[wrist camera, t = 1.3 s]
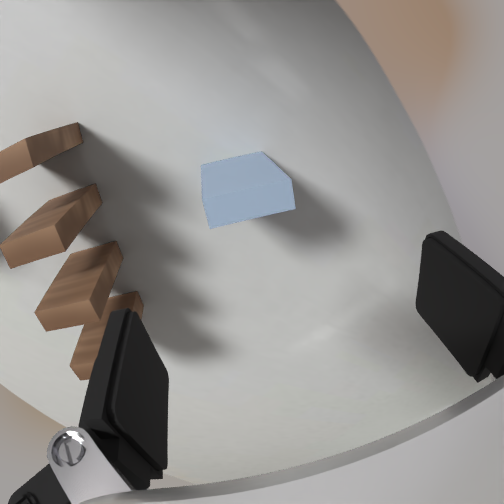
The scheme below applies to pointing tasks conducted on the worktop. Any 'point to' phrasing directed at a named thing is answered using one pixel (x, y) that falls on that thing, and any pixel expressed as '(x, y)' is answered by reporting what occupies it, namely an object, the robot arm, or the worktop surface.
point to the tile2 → (37, 150)
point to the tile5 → (100, 333)
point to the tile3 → (51, 227)
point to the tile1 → (244, 189)
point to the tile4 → (80, 288)
